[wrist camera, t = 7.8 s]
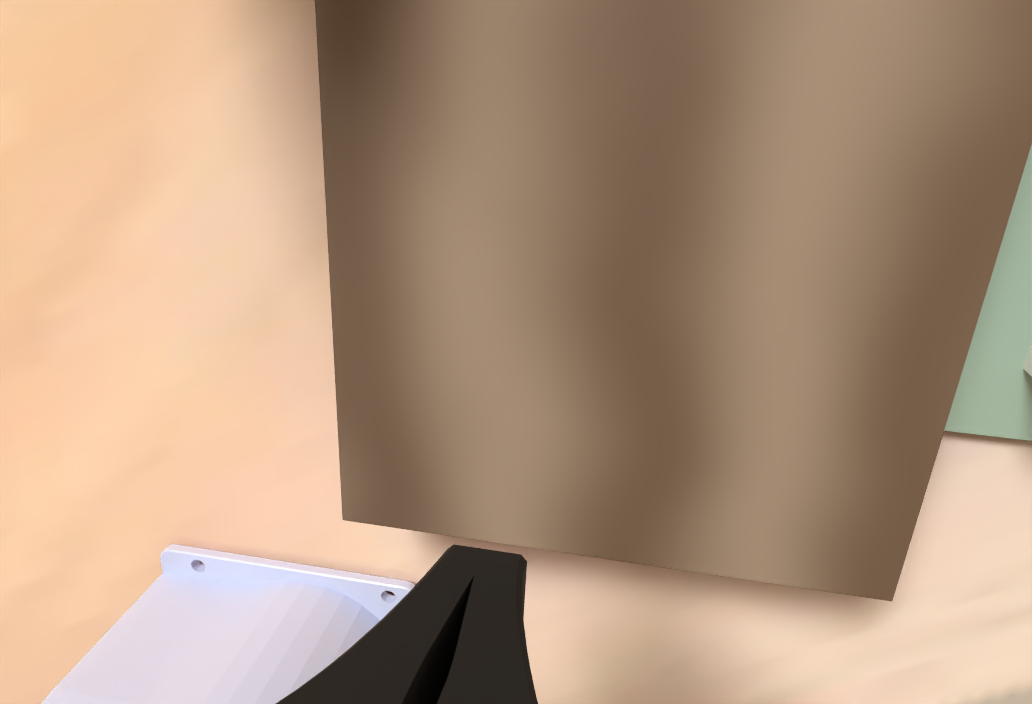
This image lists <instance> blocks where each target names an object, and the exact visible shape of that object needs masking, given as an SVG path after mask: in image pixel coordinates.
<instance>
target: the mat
mask: <svg viewBox="0 0 1032 704" xmlns="http://www.w3.org/2000/svg"><path fill="white" fill-rule="evenodd" d="M1031 343H1032V145H1031V148H1030V151H1029V155H1028V158H1027V161H1026V164H1025V168H1024V171H1023V174H1022V178H1021V181H1020V184H1019V187H1018V191H1017V194H1016V197H1015V200H1014V204H1013V207H1012V210H1011V214H1010V217H1009V220H1008V223H1007V227H1006V230H1005V233H1004V236H1003V240H1002V243H1001V246H1000V250H999V253H998V256H997V259H996V263H995V266H994V269H993V273H992V276H991V279H990V282H989V286H988V289H987V292H986V295H985V299H984V302H983V305H982V309H981V312H980V315H979V318H978V322H977V325H976V328H975V331H974V335H973V338H972V341H971V345H970V348H969V351H968V354H967V358H966V361H965V364H964V367H963V371H962V374H961V377H960V381H959V384H958V387H957V390H956V394H955V397H954V400H953V403H952V407H951V410H950V413H949V417H948V420H947V423H946V426H945V430H944V431H951V432H960V433H968V434H977V435H986V436H994V437H1003V438H1012V439H1020V440H1029V441H1032V376H1031V375H1030V374H1028V373H1027V372H1026V371H1025V370H1024V369H1023V367H1024V364H1025V361H1026V358H1027V355H1028V352H1029V349H1030V346H1031Z"/></svg>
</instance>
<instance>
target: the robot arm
mask: <svg viewBox="0 0 1032 704" xmlns="http://www.w3.org/2000/svg"><path fill="white" fill-rule="evenodd" d="M160 560H161V566H162V572H163V573H162V574H161V575H160V576H159V577H158V579H157V580H156V581H155V582H154V583H153V584H152V585H151V586H150V587H149V588H148V589H147V590H146V591H145V592H144V593H143V594H142V596H141V597H140V598H139V599H138V600H137V601H136V602H135V603H134V604H133V605H132V606H131V607H130V608H129V609H128V610H127V611H126V612H125V614H124V615H123V616H122V617H121V618H120V619H119V620H118V621H117V622H116V623H115V624H114V625H113V626H112V627H111V628H110V629H109V631H108V632H107V633H106V634H105V635H104V636H103V637H102V638H101V639H100V640H99V641H98V642H97V643H96V644H95V645H94V646H93V648H92V649H91V650H90V651H89V652H88V653H87V654H86V655H85V656H84V657H83V658H82V659H81V660H80V661H79V662H78V663H77V665H76V666H75V667H74V668H73V669H72V670H71V671H70V672H69V673H68V674H67V675H66V676H65V677H64V678H63V679H62V680H61V682H60V683H59V684H58V685H57V686H56V687H55V688H54V689H53V690H52V691H51V692H50V694H49V695H48V696H47V697H46V698H45V700H44V701H43V702H42V703H41V704H538V702H537V698H536V694H535V689H534V685H533V680H532V675H531V670H530V665H529V659H528V653H527V646H526V638H525V630H524V622H523V615H524V599H525V583H526V568H527V561H526V560H525V559H524V557H523V556H522V555H520V554H513V553H506V552H500V551H493V550H486V549H480V548H473V547H466V546H460V545H453V546H451V547H450V548H448V549H447V550H446V551H445V553H444V554H443V555H442V556H441V557H440V559H439V560H438V561H437V562H436V563H435V564H434V565H433V567H432V568H431V569H430V570H429V571H428V572H427V573H426V574H425V576H424V577H423V578H422V579H421V580H420V581H419V582H418V583H417V584H416V585H414V584H413V583H411V582H408V581H405V580H398V579H392V578H386V577H379V576H373V575H367V574H360V573H354V572H348V571H341V570H335V569H329V568H322V567H316V566H310V565H304V564H297V563H291V562H285V561H278V560H272V559H266V558H259V557H253V556H247V555H240V554H234V553H228V552H221V551H215V550H209V549H202V548H196V547H190V546H183V545H177V544H171V545H169V546H168V547H167V548H166V549H165V550H164V551H163V552H162V553H161V555H160ZM199 561H201V562H202V563H203V564H202V563H200V562H199ZM386 591H391V592H393V593H394V594H395V595H390V594H388V593H387V592H386Z"/></svg>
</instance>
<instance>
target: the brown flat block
mask: <svg viewBox="0 0 1032 704" xmlns="http://www.w3.org/2000/svg"><path fill="white" fill-rule="evenodd" d="M315 8H316V27H317V46H318V65H319V84H320V102H321V121H322V140H323V159H324V178H325V196H326V215H327V234H328V253H329V272H330V290H331V309H332V328H333V347H334V366H335V384H336V403H337V422H338V441H339V459H340V478H341V497H342V516H343V520H346V521H353V522H360V523H367V524H373V525H380V526H387V527H394V528H400V529H407V530H414V531H421V532H427V533H434V534H441V535H448V536H454V537H461V538H468V539H475V540H481V541H488V542H495V543H502V544H509V545H515V546H522V547H529V548H536V549H542V550H549V551H556V552H563V553H569V554H576V555H583V556H590V557H596V558H603V559H610V560H617V561H623V562H630V563H637V564H644V565H650V566H657V567H664V568H671V569H677V570H684V571H691V572H698V573H704V574H711V575H718V576H725V577H731V578H738V579H745V580H752V581H759V582H765V583H772V584H779V585H786V586H792V587H799V588H806V589H813V590H819V591H826V592H833V593H840V594H846V595H853V596H860V597H867V598H873V599H880V600H887V601H892V600H893V597H894V593H895V590H896V587H897V584H898V580H899V577H900V574H901V570H902V567H903V564H904V561H905V557H906V554H907V551H908V548H909V544H910V541H911V538H912V534H913V531H914V528H915V525H916V521H917V518H918V515H919V512H920V508H921V505H922V502H923V498H924V495H925V492H926V489H927V485H928V482H929V479H930V476H931V472H932V469H933V466H934V462H935V459H936V456H937V453H938V449H939V446H940V443H941V440H942V436H943V433H944V430H945V426H946V423H947V420H948V417H949V413H950V410H951V407H952V403H953V400H954V397H955V394H956V390H957V387H958V384H959V381H960V377H961V374H962V371H963V367H964V364H965V361H966V358H967V354H968V351H969V348H970V345H971V341H972V338H973V335H974V331H975V328H976V325H977V322H978V318H979V315H980V312H981V309H982V305H983V302H984V299H985V295H986V292H987V289H988V286H989V282H990V279H991V276H992V273H993V269H994V266H995V263H996V259H997V256H998V253H999V250H1000V246H1001V243H1002V240H1003V236H1004V233H1005V230H1006V227H1007V223H1008V220H1009V217H1010V214H1011V210H1012V207H1013V204H1014V200H1015V197H1016V194H1017V191H1018V187H1019V184H1020V181H1021V178H1022V174H1023V171H1024V168H1025V164H1026V161H1027V158H1028V155H1029V151H1030V148H1031V145H1032V0H315Z"/></svg>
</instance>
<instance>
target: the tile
mask: <svg viewBox="0 0 1032 704" xmlns="http://www.w3.org/2000/svg"><path fill="white" fill-rule="evenodd" d="M1023 369H1024V370H1025V371H1026V372H1027V373H1028V374H1030V375H1031V376H1032V343H1031V346H1030V349H1029V352H1028V355H1027V358H1026V361H1025V364H1024V367H1023Z"/></svg>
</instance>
